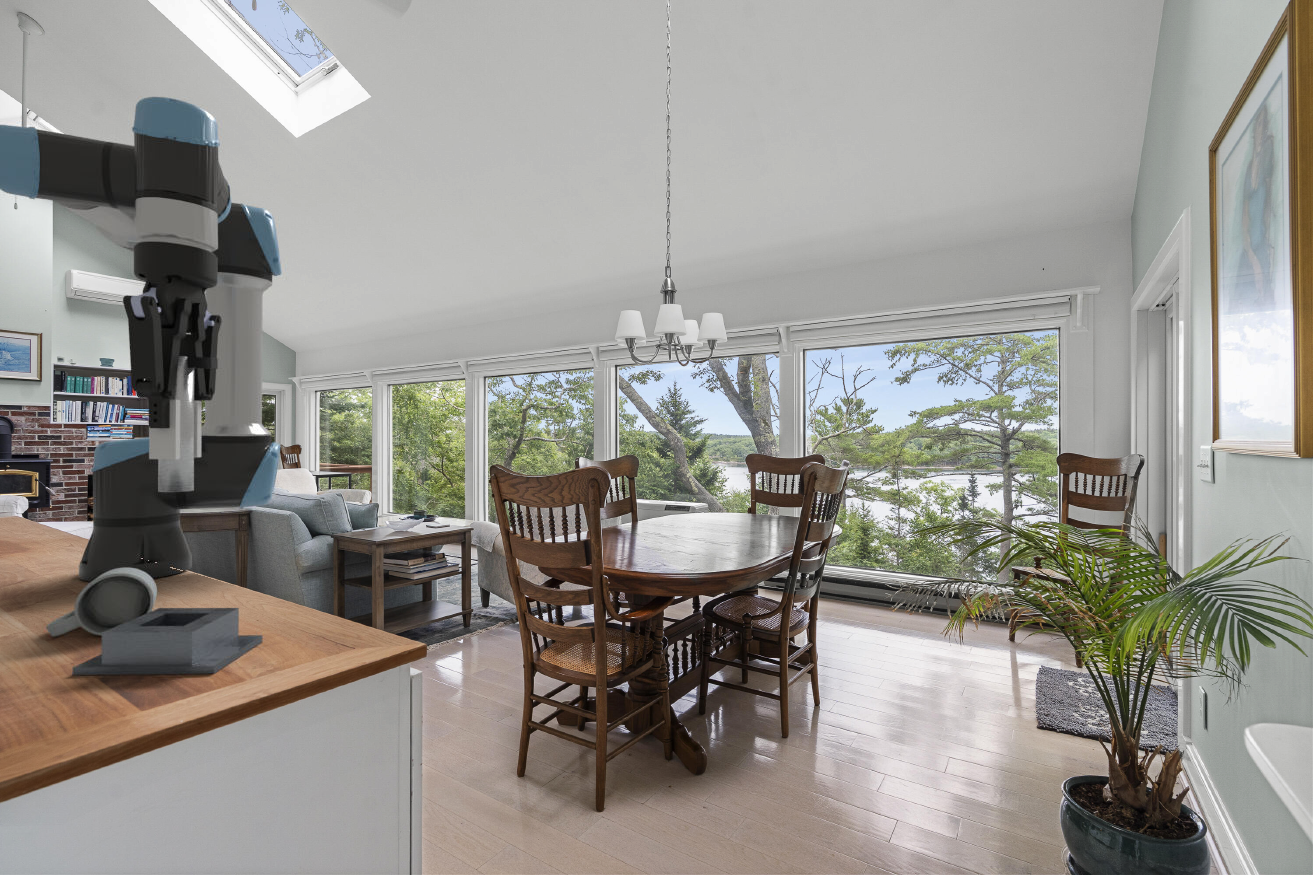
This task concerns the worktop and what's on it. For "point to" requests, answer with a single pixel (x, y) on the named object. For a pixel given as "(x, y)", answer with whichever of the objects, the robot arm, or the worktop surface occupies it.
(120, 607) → the ceramic mug
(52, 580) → the worktop surface
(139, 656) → the chuck block
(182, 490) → the t key
